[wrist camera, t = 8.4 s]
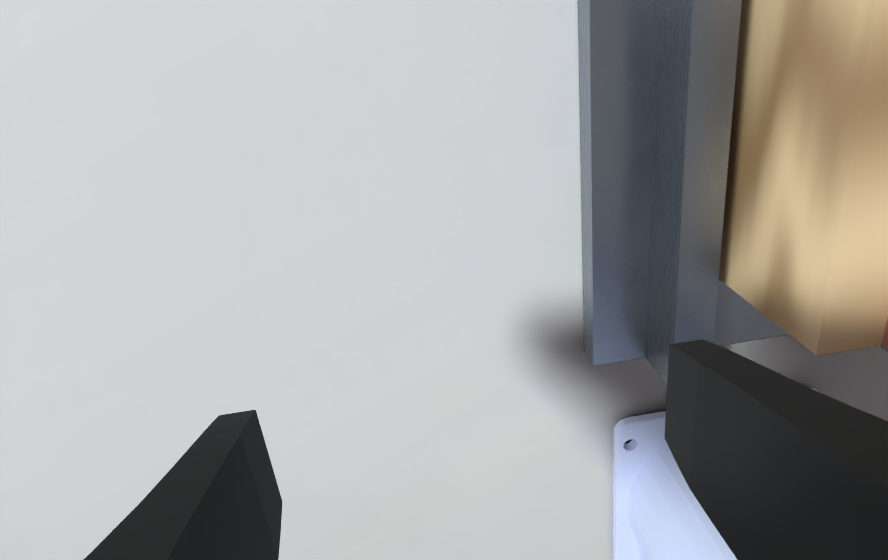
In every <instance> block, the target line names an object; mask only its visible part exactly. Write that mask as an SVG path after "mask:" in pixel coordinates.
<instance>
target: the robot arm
mask: <svg viewBox="0 0 888 560" xmlns="http://www.w3.org/2000/svg"><path fill="white" fill-rule="evenodd" d="M630 439H632V441H631V442H630V443H627V444H624V443H625V442H626V441H627V440H630ZM281 514H282V499H281V496H280V492H279V489H278V486H277V482H276V479H275V475H274V472H273V468H272V465H271V461H270V458H269V455H268V451H267V448H266V444H265V441H264V437H263V434H262V431H261V427H260V424H259V420H258V417H257V413H256V410H251V411H245V412H238V413H232V414H226V415H219V416H218V417H217V418H216V419H215V420H214V421H213V422H212V424H211V425H210V426H209V427H208V428H207V429H206V430H205V431H204V432H203V433H202V435H201V436H200V437H199V438H198V439H197V440H196V441H195V443H194V444H193V445H192V446H191V447H190V448H189V449H188V451H187V452H186V453H185V454H184V455H183V456H182V457H181V458H180V460H179V461H178V462H177V463H176V464H175V465H174V466H173V467H172V469H171V470H170V471H169V472H168V473H167V474H166V475H165V476H164V477H163V478H162V480H161V481H160V482H159V483H158V484H157V485H156V486H155V487H154V488H153V490H152V491H151V492H150V493H149V494H148V495H147V496H146V497H145V498H144V499H143V500H142V502H141V503H140V504H139V505H138V506H137V507H136V508H135V509H134V510H133V511H132V512H131V513H130V514H129V515H128V516H127V517H126V518H125V519H124V520H123V521H122V522H121V523H120V524H119V525H118V526H117V527H116V528H115V529H114V530H113V531H112V532H111V533H110V534H109V535H108V536H107V537H106V538H105V539H104V540H103V541H102V542H101V543H100V544H99V545H98V546H97V547H96V548H95V549H94V550H93V551H92V552H91V553H90V554H89V555H88V556H87V557H86V558H85V559H84V560H278V556H279V543H280V531H281ZM613 560H888V421H885V420H883V419H881V418H878V417H876V416H873V415H871V414H868V413H866V412H863V411H861V410H859V409H856V408H854V407H851V406H849V405H847V404H844V403H842V402H840V401H838V400H835V399H833V398H831V397H828V396H826V395H824V394H822V393H821V392H820V391H818V390H817V389H815V388H809V387H806V386H804V385H802V384H800V383H798V382H796V381H793V380H791V379H789V378H787V377H785V376H783V375H781V374H779V373H776V372H774V371H772V370H770V369H768V368H766V367H764V366H762V365H760V364H758V363H755V362H753V361H751V360H749V359H747V358H745V357H743V356H741V355H738V354H736V353H734V352H732V351H730V350H728V349H725V348H723V347H721V346H718V345H716V344H714V343H711V342H709V341H706V340H703V339H701V340H695V341H689V342H682V343H676V344H670V345H669V355H668V376H667V396H666V411H663V412H657V413H651V414H645V415H639V416H633V417H627V418H624V419H621V420H620V421H619V422H618V423H617V424H616V425H615V428H614V490H613Z"/></svg>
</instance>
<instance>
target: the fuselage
mask: <svg viewBox="0 0 888 560" xmlns="http://www.w3.org/2000/svg"><path fill="white" fill-rule="evenodd" d="M719 280H721V281H722V282H723V283H724V284H726V285H727V286H728V287H730V288H731V289H732V290H733V291H735V292H736V293H737V294H738V295H740V296H741V297H742V298H743V299H745V300H746V301H747V302H749V303H750V304H751V305H752V306H754V307H755V308H756V309H757V310H759V311H760V312H761V313H763V314H764V315H765V316H766V317H768V318H769V319H770V320H771V321H773V322H774V323H775V324H777V325H778V326H779V327H780V328H782V329H783V330H784V331H785V332H787V333H788V334H789V335H791V336H792V337H793V338H794V339H796V340H797V341H798V342H799V343H801V344H802V345H803V346H805V347H806V348H807V349H808V350H810V351H811V352H812V353H813V354H815V355H816V356H818V355H825V354H831V353H837V352H843V351H850V350H856V349H862V348H868V347H875V346H881V345H882V346H883V347H885V348H886V349H888V0H742V4H741V16H740V28H739V40H738V52H737V64H736V76H735V88H734V100H733V112H732V124H731V136H730V148H729V160H728V171H727V183H726V195H725V207H724V219H723V231H722V243H721V255H720V267H719Z"/></svg>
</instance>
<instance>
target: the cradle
mask: <svg viewBox="0 0 888 560" xmlns="http://www.w3.org/2000/svg"><path fill="white" fill-rule="evenodd" d="M741 4H742V0H578V37H579V94H580V151H581V207H582V264H583V321H584V351H585V353H586V354H587V356H588V358H589V359H590V361H591V362H592V364H593V366H595V365H601V364H607V363H614V362H620V361H626V360H633V359H639V358H645V357H646V359H647V360H648V361H649V363H650V364H651V365H652V366H653V368H654V369H655V370H656V371H657V373H658V374H659V375H660V377H661V378H662V379H663V380H664V382H665V383H666V384H667V376H668V355H669V345H670V344H676V343H682V342H689V341H695V340H701V339H703V340H706V341H709V342H711V343H714V344H716V345H718V346H721V345H727V344H734V343H740V342H746V341H752V340H759V339H765V338H771V337H778V336H784V335H789V334H788V333H787V332H785V331H784V330H783V329H782V328H780V327H779V326H778V325H777V324H775V323H774V322H773V321H771V320H770V319H769V318H768V317H766V316H765V315H764V314H763V313H761V312H760V311H759V310H757V309H756V308H755V307H754V306H752V305H751V304H750V303H749V302H747V301H746V300H745V299H743V298H742V297H741V296H740V295H738V294H737V293H736V292H735V291H733V290H732V289H731V288H730V287H728V286H727V285H726V284H724V283H723V282H722V281H721V280H719V267H720V255H721V243H722V231H723V219H724V207H725V195H726V183H727V171H728V160H729V148H730V136H731V124H732V112H733V100H734V88H735V76H736V64H737V52H738V40H739V28H740V16H741ZM880 347H882V348H883V349H885V350H886V351H888V349H886V348H885V347H883V346H882V345H881V346H880Z"/></svg>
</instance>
